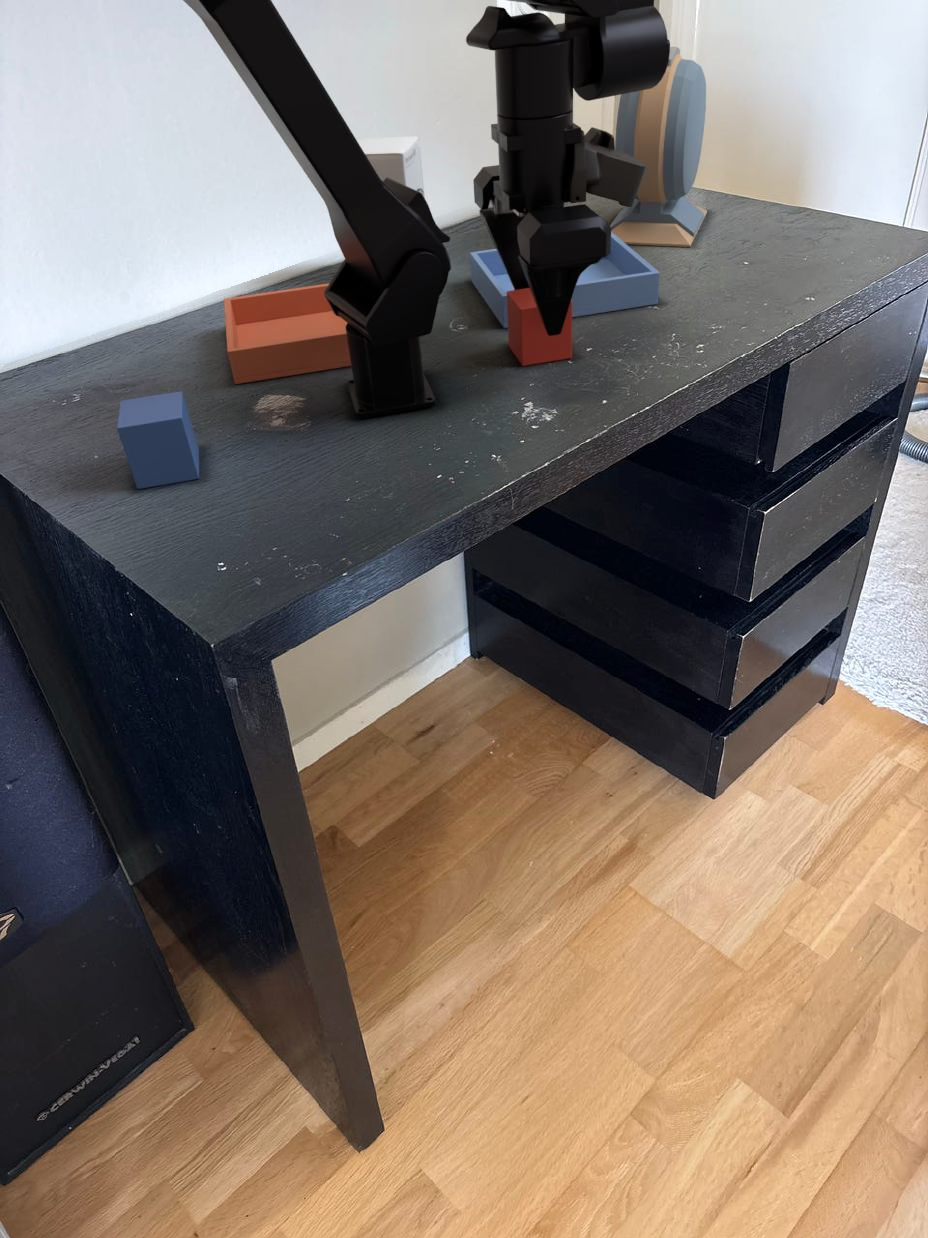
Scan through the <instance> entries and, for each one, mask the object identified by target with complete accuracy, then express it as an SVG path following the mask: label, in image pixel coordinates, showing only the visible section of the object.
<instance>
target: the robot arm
mask: <svg viewBox="0 0 928 1238" xmlns="http://www.w3.org/2000/svg"><path fill="white" fill-rule="evenodd" d="M182 1H183V2H184V3H185V4H186V6H188V7H189V8H191V10H193V12H194V13H195V14H196V15H197V16H198V17H199V18H200V19H201V21H202V23H203V24H204V25H205V27H206V29H207V30H208V32H209V33H210V34H211V36H212V37H213V38H214V40H215V42H216V43H217V45H218V46H219V48H220V49H221V50H222V52H223V54H224V56H226V58H227V60H228V62H230V64H231V66H232V67H233V68H234V70H235V71H236V73H237V74H238V76H239V77H240V78H241V80H242V82H243V83H244V85H245V86H246V88H247V90H248V91H249V92H250V94H251V95H252V96H253V98H254V99H255V101H256V102H257V104H258V106H259V107H260V108H261V110H262V111H263V113H264V114H265V116H266V117H267V119H268V120H269V121H270V123H271V125H272V126H273V128H274V130H276V133H278V135H279V137H280V138H281V140H282V141H283V142H284V144H285V145H286V147H287V149H288V150H289V151H290V153H291V154H292V156H293V157H294V159H295V160H296V162H297V163H298V165H299V166H300V167H301V169H302V171H303V172H304V173H305V175H306V177H307V179H308V180H309V181H310V182H311V184H312V185H313V187H314V188H315V190H316V191H317V193H318V195H319V196H320V197H321V199H322V200H323V202H324V204H325V207H326V208H327V212H328V215H329V220H330V223H331V226H332V230H333V234H334V238H335V240H336V242H337V244H338V247H339V249H340V251H341V253H342V254H343V258H344V260H343V262H342V263H341V264H340V266H339V268H338V269H337V271H336V272H335V274H334V275H333V276H332V279H331V280H330V282H329V285H328V287H327V288H326V290H325V291H324V296H325V298H326V300H327V302H328V304H329V305H330V307H331V309H332V311H333V313H334V314H335V315H336V316H338V317H341V318H342V319H343V320H345V321H346V322H347V325H346V334H347V341H348V347H349V354H350V360H351V366H350V367H351V373H352V379H349V380H348V381H347V382H346V387H347V390H348V393H349V396H350V400H351V403H352V407H353V410H354V413H355V417H357V418H359V419H363V418H369V417H370V418H371V417H376V416H382V415H387V414H394V413H395V414H396V413H400V412H406V411H411V410H412V411H413V410H418V409H424V408H425V409H426V408H431V407H434V406H435V405H436V404H437V401H436V396H435V395H434V393H433V390H432V387H431V386H430V384H429V382H428V380H427V377H426V375H425V373H424V369H423V359H422V349H421V339H420V338H421V337H424V336H428V335H429V334H431V333H432V331H433V327H434V324H435V317H436V313H437V309H438V305H439V300H440V296H441V295H442V294H443V291H444V289H445V287H446V285H447V283H448V278H449V273H450V271H451V270H452V263H451V257H450V255H449V252H448V250H447V248H446V247H445V245H444V244H445V243H449V242H450V241H451V237H450V236H449V235H447V234H446V233H445V232H443V231H442V229H441V228H440V227H439V226H438V224H437V223H436V221H435V219H434V217H433V214H432V211H431V208H430V206H429V204H428V202H427V200H426V197H425V198H424V196H423V195H422V193H420V192H418V191H416V190H414V189H412V188H410V187H407V186H405V185H403V184H401V183H399V182H397V181H395V180H392V179H390V178H388V177H386V178H385V180H384V181H382V180H381V179H380V178H379V176H378V174H377V173H376V171H375V170H374V168H373V166H372V165H371V163H370V161H369V160H368V158H367V156H366V155H365V153H364V152H363V150H362V148H361V147H360V145H359V143H358V142H357V140H356V139H357V138H356V137H355V135H354V133H353V132H352V130H351V129H350V127H349V125H348V124H347V122H346V120H345V119H344V117H343V116H342V113H341V112H340V111H339V109H338V107H337V106H336V104H335V103H334V101H333V99H332V98H331V96H330V94H329V93H328V91H327V90H326V87H325V86H324V84H323V83H322V81H321V80H320V78H319V76H318V74H317V73H316V71H315V69H314V68H313V66H312V65H311V63H310V61H309V59H308V58H307V57H306V55H305V53H304V52H303V50H302V48H301V47H300V45H299V44H298V42H297V40H296V39H295V37H294V35H293V34H292V32H291V30H290V29H289V27H288V25H287V24H286V23H285V20H284V19H283V17H282V15H281V14H280V12H279V11H278V9H277V8H276V6H275V4H274V3H273V1H272V0H182ZM506 1H509V2H515V3H516V2H517V3H523V4H526V5H527V6H529V7H530V8H531V9H533V10H534V11H537V12H530V13H525V14H518V15H517V14H516V15H512V16H511V14H509V12H508V11H507V10H506V8H505V7H503V6H502V7H501V6H495V5H494V6H493V5H487V7H485V10H484V13H483V15H482V17H481V18H480V19H479V21H478V22H477V23H476V24H475V25H474V26H473V27H472V29H471V30H470V31H469V32H468V34H467V35H466V37H465V42H466V45H467V46H469V47H472V48H477V49H483V50H488V51H494V69H495V70H494V71H495V96H496V97H495V98H496V100H495V101H496V122H497V123H491V124H490V133H491V134H490V136H491V140H493V142H495V143H496V144H497V147H498V149H497V151H498V164H497V165H487V166H483V167H482V168H481V169H480V170H479V172H478V173H477V174H476V175H475V177H474V178H473V180H472V181H473V198H474V203H475V205H476V206H477V207H478V208H479V210H478V211H479V216H480V217H481V219H482V221H483V223H484V225H485V228H486V229H487V231H488V234H489V236H490V238H491V241H492V243H493V245H494V247H495V249H497V252H498V254H499V256H500V258H501V260H502V263H503V265H504V267H505V269H506V272H507V274H508V276H509V278H510V281H511V283H512V285H513V287H514V290H519V289H525V288H530V290H531V293H532V295H533V298H534V301H535V303H536V306H537V309H538V311H539V314H540V317H541V319H542V322H543V325H544V327H545V330H546V332H547V334H548V335H549V336H554V335H559V334H561V332H562V329H563V326H564V322H565V319H566V316H567V312H568V309H569V306H570V302H571V299H572V296H573V292H574V289H575V287H576V284H577V281H578V278H579V276H580V275H581V273H582V272H583V271H584V270H585V269H587V268H588V267H589V266H590V265H592V264H596V263H598V262H599V261H600V260H601V259H602V257H606V256H607V255H609V254H610V252H611V227H610V225H609V224H608V223H607V222H606V221H605V219H603V217H601V216H600V215H599V214H598V213H596V212H595V211H594V210H592V208H590V207H589V206H588V205H586V203H585V202H587V194H589V195H592V196H597V197H600V198H604V199H607V200H611V201H615V202H617V203H618V204H619V205H620V206H622V207H632V206H633V203H634V201H635V200H636V199H635V198H636V195H637V192H638V189H639V187H640V184H641V181H642V178H643V175H644V173H645V170H646V167H647V165H645V164H644V163H642V162H640V161H639V160H637V159H636V158H634V157H632V156H630V155H628V154H626V153H624V152H622V151H620V150H617V151H616V150H615V136H614V135H613V134H612V133H609V132H608V131H606V130H603V129H600V128H596V127H593V126H591V127H589V130H588V131H587V132H586V133H585V131H584V130H583V129H582V127H580V126H579V125H577V124H576V123H574V92H575V94H577V96H578V97H579V98H580V99H582V100H584V101H586V102H590V101H595V100H601V99H605V98H610V97H611V98H612V97H615V96H621V94H626V93H631V92H636V91H641V90H646V89H651V88H653V87H655V86H656V85H657V84H658V83H659V82H660V81H661V80H662V78H663V76H664V74H665V72H666V69H667V65H668V61H669V55H670V47H671V41H670V40H669V39H668V32H667V27H666V24H665V21H664V18H663V17H662V14H661V13H660V12H659V10H658V9H657V8H656V7H655V0H506ZM538 11H539V12H538ZM542 12H548V13H555V14H562V15H564V22H562V23H554V22H553V21H552V19H551V18H550V17H549V16H548V15H546V14H545V13H542ZM565 203H570V204H576V205H569V206H565ZM577 203H578V204H577ZM579 203H583V204H579Z"/></svg>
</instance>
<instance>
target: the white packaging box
mask: <svg viewBox="0 0 928 1238" xmlns="http://www.w3.org/2000/svg"><path fill="white" fill-rule="evenodd" d="M356 140H357V142H358V143H359V145H360V147H361V148H362V150H363V152H364V153H365V155H366V156H367V158H368V160H369V161H370V163H371V165H372V166H373V168H374V170H375V171H376V173H377V174H378V176H379V178H380V179H381V180H382V181H384V180H385V178H386V177H388V178H390V179H392V180H395V181H397V182H399V183H401V184H403V185H405V186H407V187H410V188H412V189H414V190H416V191H418V192H420V193H422V195H423V196H424V198H425V199H426V196H425V195H426V194H425V184H424V174H423V164H422V162H423V161H422V151H421V139H420V136H417V135H416V136H415V135H413V136H409V135H408V136H385V137H384V136H383V137H364V138H363V137H362V138H356Z"/></svg>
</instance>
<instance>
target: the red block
mask: <svg viewBox="0 0 928 1238" xmlns="http://www.w3.org/2000/svg"><path fill="white" fill-rule="evenodd" d="M507 314H508V328H507V335H508V336H507V337H508V339H507V340H508V347H509V349H510V350H511V352H512V353H513V355H514V356H515V358H516V359H517V361H518V362H519V364H520V365H521V366H522V367H525V366H531V365H537V364H542V363H543V364H544V363H549V362H556V361H561V360H568V359H569V360H570V359H572V358H573V317H572V301H571V302H570V306H569V309H568V312H567V316H566V319H565V322H564V326H563V329H562V332H561V334H559V335H554V336H549V335H548V334H547V332H546V330H545V327H544V325H543V322H542V319H541V317H540V314H539V311H538V309H537V306H536V303H535V301H534V298H533V295H532V293H531V290H530V288H525V289H519V290H512V291H507Z"/></svg>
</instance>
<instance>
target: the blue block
mask: <svg viewBox="0 0 928 1238" xmlns="http://www.w3.org/2000/svg"><path fill="white" fill-rule="evenodd" d="M118 410H119V411H118V418H117V424H116V431H117V433H118V437H119V439H120V442H121V445H122V448H123V451H124V454H125V456H126V460H127V463H128V466H129V469H130V471H131V474H132V477H133V480H134V483H135V487H136V489H137V490H142V489H146V488H153V487H158V486H159V487H160V486H164V485H165V486H166V485H171V484H176V483H183V482H189V481H194V480H199V479H200V449H199V444H198V441H197V438H196V433H195V431H194V427H193V424H192V420H191V416H190V413H189V410H188V406H187V403H186V399H185V394H184V391H182V390H180V391H174V392H167V393H163V394H162V393H161V394H156V395H148V396H143V397H137V398H129V399H123V400H120V404H119V409H118Z"/></svg>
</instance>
